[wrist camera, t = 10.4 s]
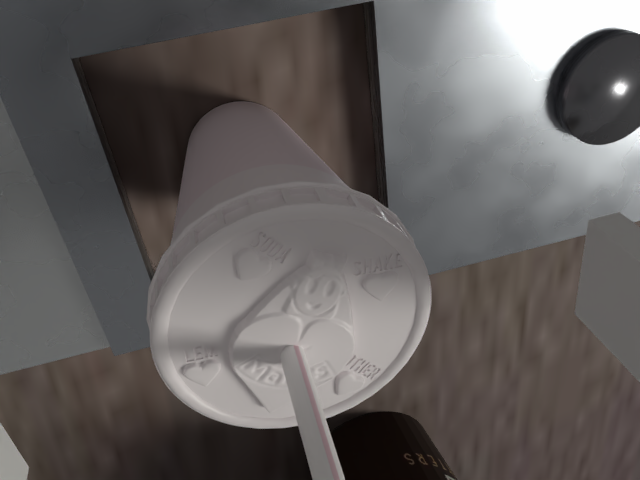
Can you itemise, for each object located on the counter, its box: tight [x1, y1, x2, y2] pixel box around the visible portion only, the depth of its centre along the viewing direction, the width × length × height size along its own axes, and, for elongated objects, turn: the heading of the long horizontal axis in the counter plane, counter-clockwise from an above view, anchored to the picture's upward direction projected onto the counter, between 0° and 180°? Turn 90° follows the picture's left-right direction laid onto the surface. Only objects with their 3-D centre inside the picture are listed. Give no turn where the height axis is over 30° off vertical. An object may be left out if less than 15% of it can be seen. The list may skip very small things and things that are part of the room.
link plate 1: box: [0, 2, 384, 375], centre depth 20 cm, size 22×13×1 cm, turn 97°
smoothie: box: [146, 101, 431, 480], centre depth 15 cm, size 6×6×14 cm
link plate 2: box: [0, 0, 640, 356], centre depth 21 cm, size 24×13×2 cm, turn 98°
